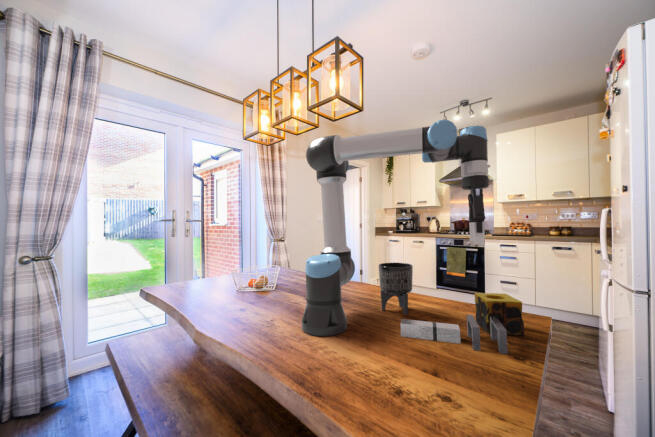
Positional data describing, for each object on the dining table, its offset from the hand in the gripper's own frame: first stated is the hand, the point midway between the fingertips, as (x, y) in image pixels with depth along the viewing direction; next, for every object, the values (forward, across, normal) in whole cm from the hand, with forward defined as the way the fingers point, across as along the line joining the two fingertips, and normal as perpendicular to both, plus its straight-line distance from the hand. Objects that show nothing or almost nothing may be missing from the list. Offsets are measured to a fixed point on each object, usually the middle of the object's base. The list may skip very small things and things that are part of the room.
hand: (476, 242), depth 82 cm
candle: (+27, +3, -5) cm, 28 cm away
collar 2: (+27, -11, -3) cm, 29 cm away
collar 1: (+27, -11, +3) cm, 29 cm away
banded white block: (+27, -12, +14) cm, 33 cm away
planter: (+28, +9, +27) cm, 40 cm away
